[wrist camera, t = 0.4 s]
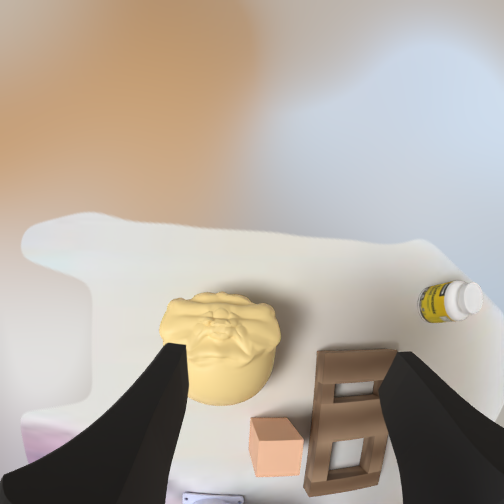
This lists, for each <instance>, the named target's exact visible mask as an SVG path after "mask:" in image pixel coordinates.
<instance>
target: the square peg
mask: <svg viewBox="0 0 504 504" xmlns="http://www.w3.org/2000/svg"><path fill="white" fill-rule="evenodd" d="M303 442H304V439H303V438H302V437H301V435H300V434H299V433H298V431H297V430H296V429H295V428H294V426H293V425H292V424H291V422H290V421H289V420H288V418H251V420H250V436H249V452H250V456H251V460H252V464H253V467H254V471H255V475H256V477H278V476H295V475H299V474H300V467H301V459H302V451H303Z"/></svg>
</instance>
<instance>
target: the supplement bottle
mask: <svg viewBox="0 0 504 504" xmlns="http://www.w3.org/2000/svg"><path fill="white" fill-rule="evenodd" d="M482 303H483V294H482V290H481V288H480V287H479V285H478V284H477V283H475V282H471V283H465V282H463V281H460V280H457V281H452V282H448V283H444V284H440V285H435V286H431V287H428V288H426V289H424V290H423V291H422V292H421V294H420V296H419V299H418V311H419V314H420V316H421V318H422V319H423V320H424V321H426V322H429V323H440V322H454V321H462V320H464V319H466V318H467V317H468V316H469V315H471V314H476V313H478V312H479V310H480V309H481V307H482Z"/></svg>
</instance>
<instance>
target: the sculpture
mask: <svg viewBox="0 0 504 504" xmlns="http://www.w3.org/2000/svg"><path fill="white" fill-rule="evenodd" d="M159 333H160V336H161V338H162V339H163V346H164V345H165V344H166V343H176V344H184V345H186V350H187V364H188V376H189V391H188V397H189V398H191V399H193V400H195V401H197V402H200V403H203V404H207V405H214V406H228V405H234V404H238V403H241V402H244V401H246V400H248V399H250V398H252V397H253V396H255V395H256V394H257V393H258V392H259V391H260V390H261V389H262V388H263V387H264V385H265V384H266V382H267V381H268V379H269V377H270V374H271V372H272V368H273V364H274V358H275V352H276V346H277V345H278V344H279V342H280V340H281V332H280V328H279V324H278V321H277V319H276V317H275V311H274V309H273V308H272V307H271V306H270V305H268V304H265V303H260V304H254V303H252V302H251V301H250V300H249V299H248V298H247V297H245V296H242V295H238V294H230V295H229V294H227V293H225V292H223V291H221V292H219V293H216V294H214V293H209V292H205V293H200V294H197V295H195V296H194V297H193V298H192V299H189V300H185V299H183V298H177V299H173V300H172V301H170V303H169V304H168V306H167V311H166V312H165V314H164V316H163V318H162V321H161V324H160V328H159Z"/></svg>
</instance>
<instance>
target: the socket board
mask: <svg viewBox="0 0 504 504" xmlns="http://www.w3.org/2000/svg"><path fill="white" fill-rule="evenodd" d="M396 354H397V350H392V349H374V350H349V351H317V361H316V376H315V388H314V400H313V411H312V421H311V431H310V439H309V448H308V456H307V464H306V471H305V478H304V485H303V487H304V489H305V491H306V493H307V494H308V496H309V497H314V496H321V495H328V494H335V493H341V492H347V491H352V490H357V489H362V488H366V487H371V486H375V485H378V482H379V477H380V473H381V468H382V464H383V459H384V454H385V448H386V443H387V437H388V430H387V427H386V424H385V421H384V418H383V414H382V409H381V404H380V399H379V393H378V389H379V387H380V385H381V383H382V382H383V380H384V378H385V376H386V374H387V372H388V370H389V368H390V366H391V364H392V362H393V360H394V358H395V356H396ZM367 381H374V386H373V394H369V395H359V396H348V397H335V398H334V389H335V384H340V383H355V382H367ZM359 438H364V441H363V447H362V453H361V459H360V464H359V466H354V467H348V468H342V469H335V470H328V469H329V463H330V456H331V449H332V442H337V441H345V440H352V439H359Z"/></svg>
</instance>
